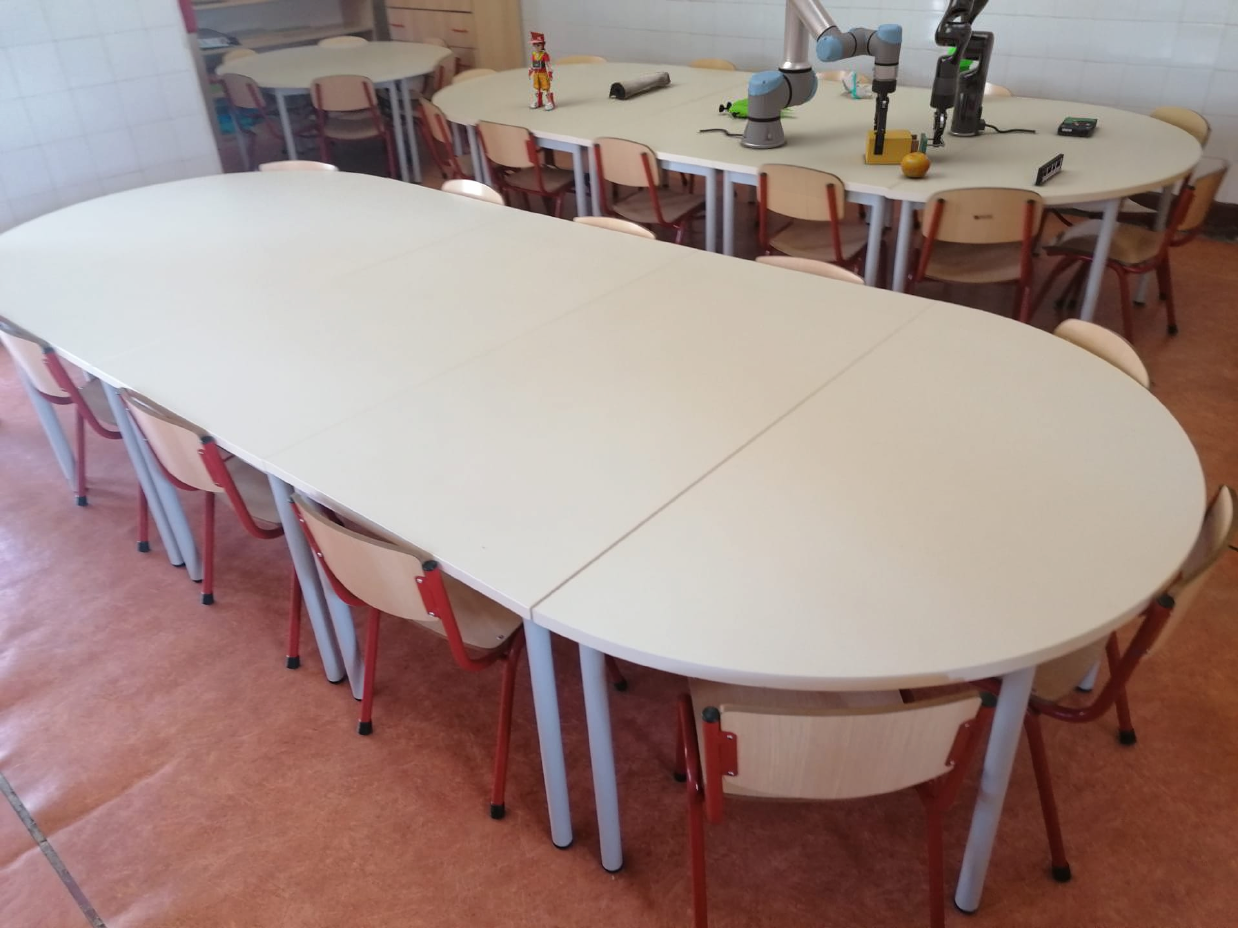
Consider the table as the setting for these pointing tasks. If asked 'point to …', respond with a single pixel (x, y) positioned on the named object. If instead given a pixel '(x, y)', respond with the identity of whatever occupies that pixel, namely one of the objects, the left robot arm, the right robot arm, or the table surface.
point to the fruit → (915, 164)
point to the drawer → (923, 143)
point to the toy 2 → (741, 108)
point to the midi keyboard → (1049, 169)
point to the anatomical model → (855, 86)
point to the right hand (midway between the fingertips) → (935, 147)
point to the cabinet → (889, 147)
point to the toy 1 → (541, 71)
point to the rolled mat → (638, 84)
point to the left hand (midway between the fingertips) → (877, 150)
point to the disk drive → (1077, 126)
